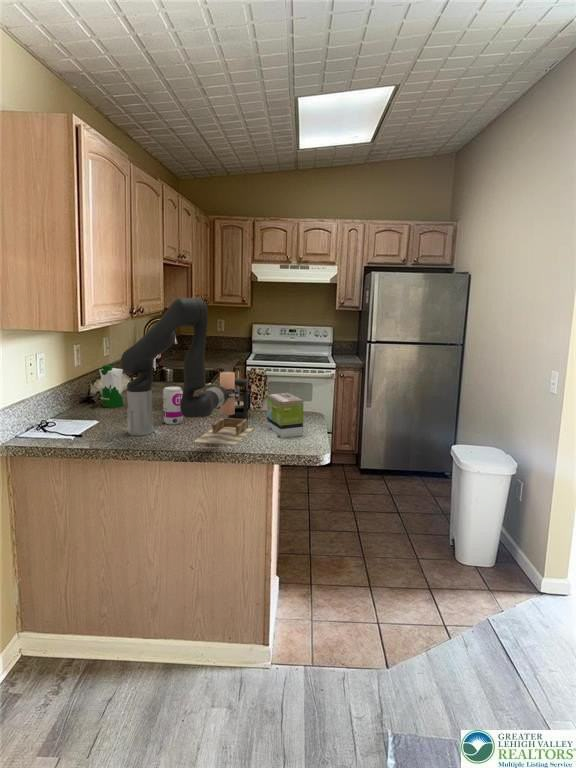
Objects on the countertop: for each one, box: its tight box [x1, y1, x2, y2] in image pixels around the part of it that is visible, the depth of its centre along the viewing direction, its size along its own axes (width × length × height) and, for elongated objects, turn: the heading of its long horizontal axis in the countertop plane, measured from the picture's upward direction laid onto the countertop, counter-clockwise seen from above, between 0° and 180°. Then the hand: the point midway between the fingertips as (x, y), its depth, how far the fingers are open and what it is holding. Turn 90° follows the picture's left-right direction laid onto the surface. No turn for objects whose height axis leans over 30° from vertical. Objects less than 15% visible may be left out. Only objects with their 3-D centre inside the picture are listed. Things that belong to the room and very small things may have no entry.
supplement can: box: [162, 386, 184, 425], centre depth 228 cm, size 8×8×15 cm
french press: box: [227, 365, 251, 419], centre depth 237 cm, size 12×9×23 cm
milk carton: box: [99, 364, 124, 409], centre depth 257 cm, size 9×9×20 cm
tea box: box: [266, 392, 304, 439], centre depth 214 cm, size 15×10×15 cm, turn 24°
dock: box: [193, 417, 255, 446], centre depth 207 cm, size 25×16×4 cm, turn 167°
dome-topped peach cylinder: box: [219, 371, 236, 416], centre depth 209 cm, size 8×6×16 cm
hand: (229, 389), depth 210 cm, fingers closed on dome-topped peach cylinder, 5 cm apart
